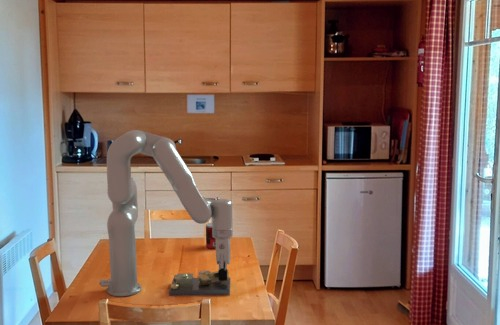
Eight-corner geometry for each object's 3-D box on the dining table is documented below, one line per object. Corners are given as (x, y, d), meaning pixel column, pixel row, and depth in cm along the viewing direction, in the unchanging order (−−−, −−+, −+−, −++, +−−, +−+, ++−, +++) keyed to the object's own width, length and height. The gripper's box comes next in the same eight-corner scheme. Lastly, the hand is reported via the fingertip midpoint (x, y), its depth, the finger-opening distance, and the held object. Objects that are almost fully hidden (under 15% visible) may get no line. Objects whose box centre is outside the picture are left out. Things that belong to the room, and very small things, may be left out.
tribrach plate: (169, 295, 207) (168, 280, 206) (173, 283, 220) (173, 269, 219) (229, 294, 207) (229, 280, 206) (230, 282, 220) (230, 268, 219)
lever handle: (202, 285, 210) (202, 274, 209) (196, 282, 214) (196, 270, 213) (230, 279, 217) (230, 268, 216) (224, 276, 220) (224, 264, 220)
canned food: (226, 246, 268) (225, 223, 267) (216, 250, 262) (215, 227, 260) (212, 243, 272) (212, 221, 271) (202, 248, 266) (202, 225, 264)
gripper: (231, 238, 204) (231, 287, 207) (233, 227, 219) (233, 273, 221) (210, 238, 204) (211, 286, 207) (213, 227, 219) (214, 273, 221)
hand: (222, 279), depth 214 cm, fingers closed
